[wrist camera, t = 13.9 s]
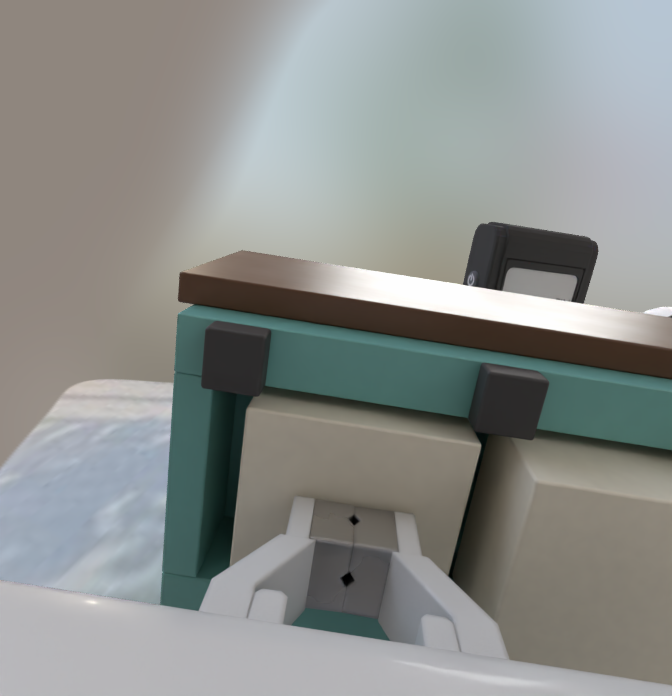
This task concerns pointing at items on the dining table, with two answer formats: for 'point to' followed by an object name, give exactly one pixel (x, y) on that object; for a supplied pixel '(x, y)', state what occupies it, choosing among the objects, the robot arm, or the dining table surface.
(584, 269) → the card reader
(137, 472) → the dining table surface
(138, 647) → the robot arm
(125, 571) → the dining table surface
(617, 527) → the piano key right
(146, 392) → the dining table surface
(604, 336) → the toy piano
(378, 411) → the piano key left
